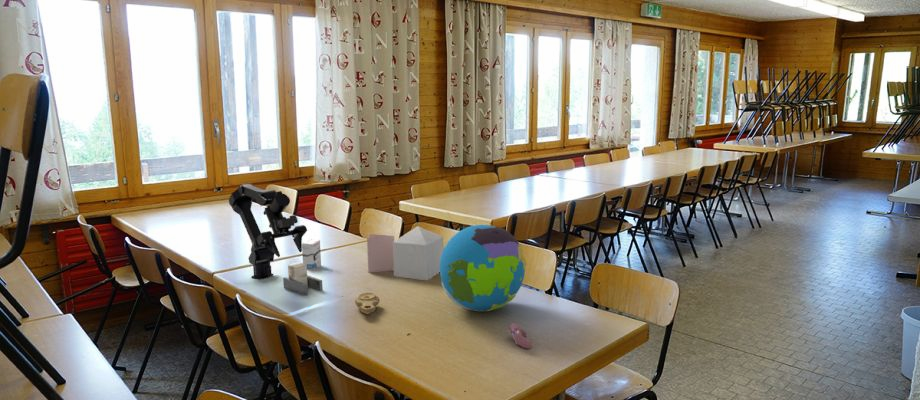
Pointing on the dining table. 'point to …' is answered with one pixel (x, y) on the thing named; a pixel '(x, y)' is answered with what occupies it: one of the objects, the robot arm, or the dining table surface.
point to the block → (298, 272)
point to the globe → (482, 268)
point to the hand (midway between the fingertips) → (290, 254)
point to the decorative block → (417, 254)
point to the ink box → (311, 253)
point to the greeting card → (380, 253)
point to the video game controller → (519, 336)
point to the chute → (302, 285)
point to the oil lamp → (367, 302)
